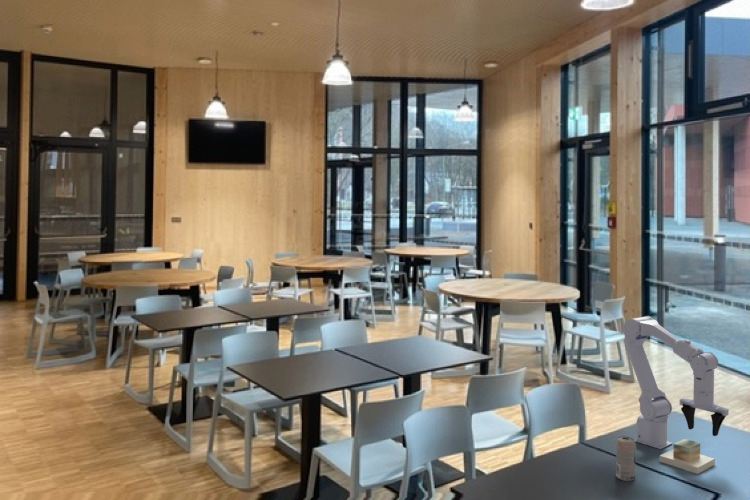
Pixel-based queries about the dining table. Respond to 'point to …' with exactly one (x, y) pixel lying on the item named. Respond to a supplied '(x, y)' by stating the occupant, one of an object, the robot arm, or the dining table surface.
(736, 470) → the dining table surface
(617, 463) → the energy drink
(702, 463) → the white stand
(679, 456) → the sage green block
